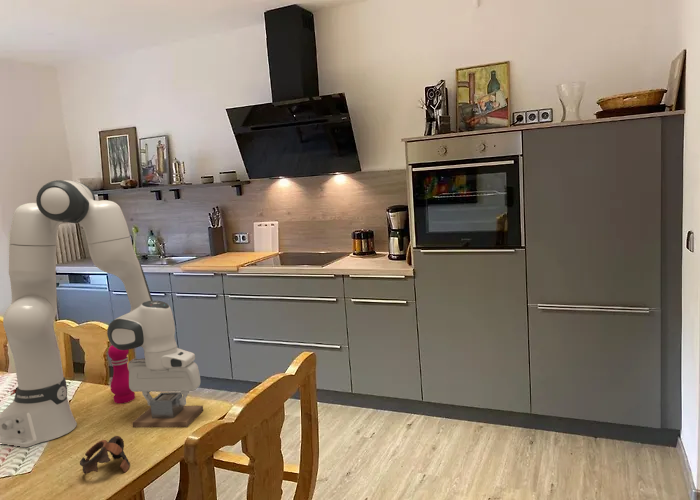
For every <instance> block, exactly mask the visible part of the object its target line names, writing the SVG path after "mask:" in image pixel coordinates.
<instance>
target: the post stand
mask: <svg viewBox="0 0 700 500" xmlns="http://www.w3.org/2000/svg"><path fill="white" fill-rule="evenodd" d="M174 396H175V394H165V395H162V396H161V397H160V398H159V399H157V400H171V399H172V398H173V397H174ZM183 407H184V409H183V410H182V411H181V412H180V413H179V414H178V415H177V416H176V417H175V418H155V419H152V413H151V406H149V408H147V410H145V411H144V412H143V413H142V414H141V415H139V416H138V417H136V419H135V420H133V421H132V422H131V424H132V428H188V427H189V426H190V425H191V424H192V423H193V421H195V420H196V419H197V417H199V415H201V413H203V411H204V405H184V406H183Z"/></svg>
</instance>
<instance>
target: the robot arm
mask: <svg viewBox="0 0 700 500" xmlns="http://www.w3.org/2000/svg"><path fill="white" fill-rule="evenodd" d="M63 223H69V224H70V223H71V224H79V225H81V227H82V228H83V231H84V233H85V238H86V243H87V248H88V252H89V256H90V258H91V261H92V263H93V264H94V266H95V267H96V268H98V269H99V270H100V271H102V272H104V273H108V274H111V275H114V276H116V277H117V278H119V279H120V281H121V282H122V284H123V286H124V290H125V291H126V294H127V297H128V302H129V304H130V311H129V312H127V313H125V314H123V315H120V316H118V317H116V318H115V319H114V320H112V321H111V322H110V323H109V324H108V327H107V331H106V334H107V338H108V339H107V340H108V341H109V343H110V345H113V346H114V347H115V348H117V349H119V350H129V351H130V350H133V349H137V348H141V347H142V349H143V352H144V353H143V355H144V358H143V357H142V358H132V359H131V360H130V361H128V362H127V366H128V370H129V388H130V389H131V391H133V392H134V393H135V392H137V393H138V392H139V393H140V392H141V393H142V396H143V397H144V399H145V400H146V403H147V407H151V405H150V401H151V400H153V399H154V398H155V397H153V396H152V395H151V392H181V394H182V398H180V399H179V400H178V402H179V406H187V397H188V394H189V392H195V391H196V390H197V389H198V388H199V387H200V385H201V375H200V371H199V366H198V364H197V362H195V359H196V355H195V353H194V352H191V351H187V350H184V349H182V348H179V347H178V345H177V342H176V339H175V335H176V334H175V333H176V327H175V326H176V325H175V318H174V315H173V311H172V308H171V306H170V305H169V304H168V303H167V302H166V301H163V300H162V301H161V300H153V298H152V295H151V291H150V288H149V285H148V282H147V279H146V276H145V272H144V269H143V266H142V264H141V262H140V260H139V259H138V256H137V255H136V253H135V250H134V246H133V242H132V238H131V235H130V230H129V227H128V224H127V220H126V217H125V216H124V212H123V210H122V208H121V206H120V205H119V204H117V203H116V202H115V201H112V200H107V199H105V200H104V199H103V200H96V196H95V194H94V191H93V190H92V189H91V188H90V187H89V186H88V185H87V184H85V183H82V182H79V181H76V180H71V179H62V180H61V179H58V180H57V179H55V180H52V181H49V182H48V183H45V184H44V185H42V186H41V187H40V189H39V190H38V191H37V195H36V200H35V202H27V203H24V204H21V205H18V207H17V208H16V209H15V210H14V213H13V215H12V221H11V225H10V231H9V232H10V233H9V246H8V247H9V249H8V250H9V251H8V252H9V253H8V254H9V255H8V275H9V281H10V288H11V289H10V290H11V303H10V305H9V306H8V307H7V308H6V309H5V312H4V314H3V319H2V321H3V322H2V324H3V328H4V331H5V335H6V338H7V343H8V346H9V348H10V352H11V354H12V358H13V362H14V363H13V364H14V368H15V374H16V381H17V386H16V388H14V389H12V390H11V391H9V393H10V395H9V396H13V395H14V398H13V401H12V402H11V403H10V404H9V405H8V406H7V407H5V408H4V410H3V411H2V412H0V443H2V444H9V445H14V446H13V447H17V446H20V447H19V448H28V447H31V446H34V445H37V444H39V443H40V444H41V443H44V442H48V441H52V440H54V439H57V438H60V437H62V436H65V435H67V434H68V433H70V432H72V431H73V430H74V429H75V428H76V427H77V426H78V423H77V421H76V419H75V417H74V414H73V412H72V409H71V406H70V402H69V399H68V385H67V381H66V377H64V371H63V364H62V358H61V352H60V348H59V346H58V341H57V337H56V334H55V328H54V319H55V318H56V316H57V311H58V304H57V303H58V300H57V299H58V298H57V297H58V294H57V278H56V277H57V275H56V273H57V269H56V268H57V241H58V240H57V236H58V235H57V234H58V230H59V227H60V225H61V224H63ZM9 445H8V446H9Z"/></svg>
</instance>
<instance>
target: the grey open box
mask: <svg viewBox="0 0 700 500" xmlns="http://www.w3.org/2000/svg"><path fill="white" fill-rule="evenodd" d="M165 394H175V396H174V397H173V398H172V399H171V400H157V399H159V398H160V397H161V396H162V395H165ZM182 396H183V394H181V391H167V392H160V393H158V395H156V396H155V397H153V398H154V399H153V400H151V401H150V405H151V406H150V407H151V413H152V419H155V418H175V417H176V416H177V415H178V414H179V413H180V412H181V411H182V410H183V409H184V407H183V406H179V402H178V400H179V399H180V398H182Z"/></svg>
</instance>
